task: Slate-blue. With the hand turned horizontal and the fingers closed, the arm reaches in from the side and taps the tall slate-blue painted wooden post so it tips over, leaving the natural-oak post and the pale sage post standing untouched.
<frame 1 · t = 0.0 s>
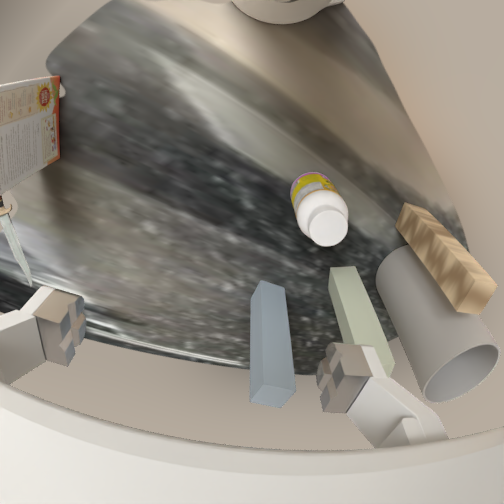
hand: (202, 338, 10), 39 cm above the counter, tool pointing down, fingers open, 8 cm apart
post slate: (267, 293, 58), on the counter
cracker box: (46, 117, 41), on the counter
knife: (13, 230, 52), on the counter
post oak: (410, 217, 50), on the counter
cylinder vase: (404, 271, 56), on the counter
supplement bottle: (311, 190, 48), on the counter
post sage: (341, 277, 56), on the counter
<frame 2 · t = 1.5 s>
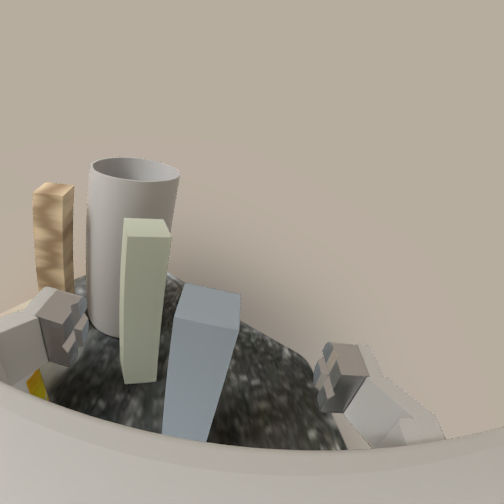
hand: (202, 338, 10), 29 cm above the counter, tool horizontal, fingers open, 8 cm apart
post slate: (181, 447, 33), on the counter
post oak: (60, 320, 45), on the counter
cylinder vase: (123, 316, 51), on the counter
supplement bottle: (28, 409, 29), on the counter
post sage: (137, 370, 42), on the counter
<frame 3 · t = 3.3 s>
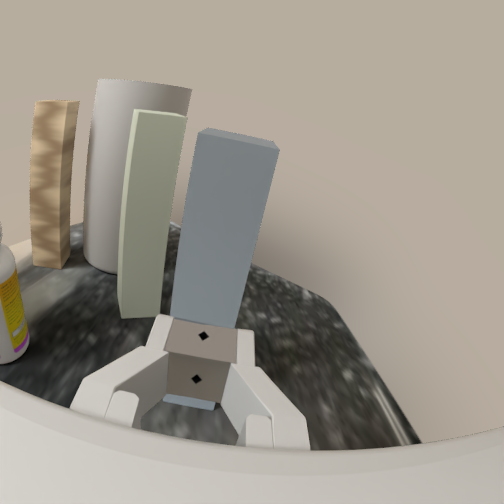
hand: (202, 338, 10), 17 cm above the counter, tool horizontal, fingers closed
post slate: (190, 387, 28), on the counter
post oak: (52, 259, 40), on the counter
cylinder vase: (123, 256, 46), on the counter
supplement bottle: (3, 345, 24), on the counter
post sage: (137, 305, 37), on the counter
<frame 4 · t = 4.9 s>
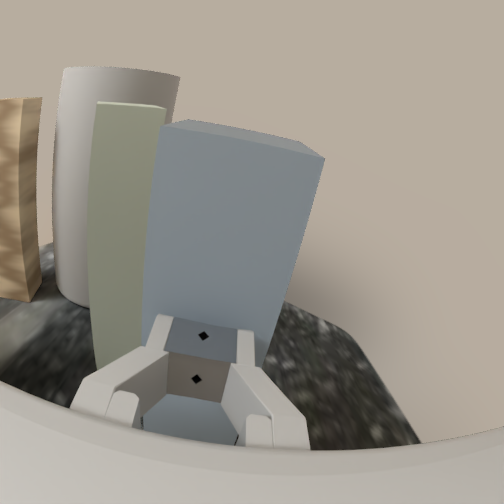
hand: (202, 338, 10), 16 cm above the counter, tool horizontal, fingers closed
post slate: (184, 468, 19), on the counter
post oak: (21, 289, 32), on the counter
cylinder vase: (103, 283, 38), on the counter
post sage: (117, 352, 28), on the counter
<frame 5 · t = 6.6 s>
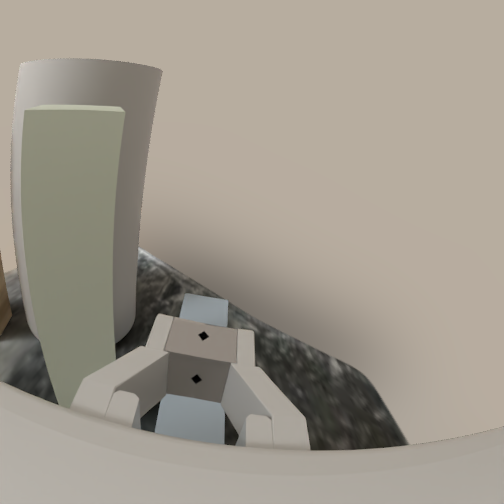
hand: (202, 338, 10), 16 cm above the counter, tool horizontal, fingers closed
cylinder vase: (80, 317, 31), on the counter
post sage: (92, 410, 22), on the counter
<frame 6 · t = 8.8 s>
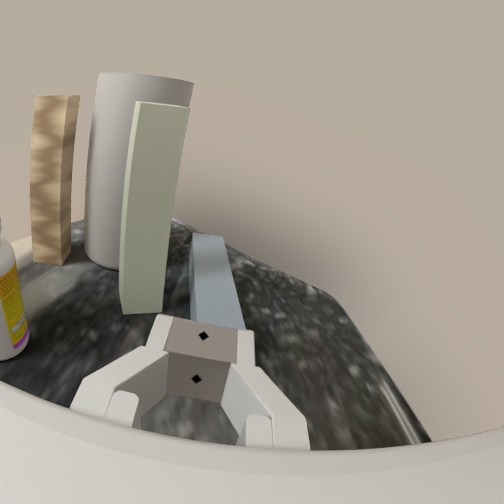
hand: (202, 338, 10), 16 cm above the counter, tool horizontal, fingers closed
post slate: (219, 352, 29), point 2 cm above the counter, tilted 90°
post oak: (52, 256, 40), on the counter
cylinder vase: (124, 252, 46), on the counter
supplement bottle: (2, 341, 24), on the counter
post sage: (139, 301, 36), on the counter
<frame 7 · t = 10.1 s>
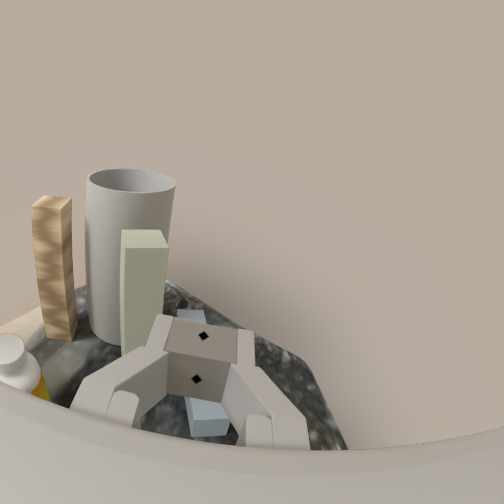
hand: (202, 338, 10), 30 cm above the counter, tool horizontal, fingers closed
post slate: (210, 428, 35), point 2 cm above the counter, tilted 90°
post oak: (62, 330, 46), on the counter
cylinder vase: (124, 324, 52), on the counter
supplement bottle: (34, 418, 30), on the counter
post sage: (139, 378, 42), on the counter
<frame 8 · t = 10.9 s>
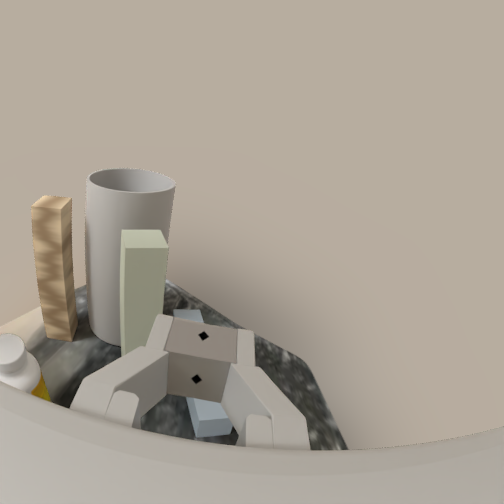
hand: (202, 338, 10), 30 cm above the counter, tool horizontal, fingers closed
post slate: (215, 428, 36), point 2 cm above the counter, tilted 90°
post oak: (62, 330, 46), on the counter
cylinder vase: (124, 324, 52), on the counter
supplement bottle: (34, 418, 30), on the counter
post sage: (139, 378, 42), on the counter
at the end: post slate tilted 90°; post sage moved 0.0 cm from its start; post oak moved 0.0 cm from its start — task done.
